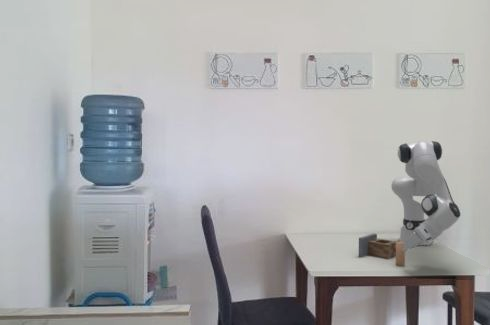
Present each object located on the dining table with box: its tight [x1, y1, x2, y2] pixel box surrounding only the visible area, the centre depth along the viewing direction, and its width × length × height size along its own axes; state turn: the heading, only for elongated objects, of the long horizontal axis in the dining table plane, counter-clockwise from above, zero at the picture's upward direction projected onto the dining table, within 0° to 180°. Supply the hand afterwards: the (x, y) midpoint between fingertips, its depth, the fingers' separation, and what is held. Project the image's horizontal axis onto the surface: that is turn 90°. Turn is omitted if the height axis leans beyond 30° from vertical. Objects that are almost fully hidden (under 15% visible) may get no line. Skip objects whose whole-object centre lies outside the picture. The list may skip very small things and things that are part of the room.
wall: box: [358, 233, 378, 258], centre depth 227 cm, size 16×2×10 cm, turn 137°
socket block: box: [367, 237, 398, 260], centre depth 226 cm, size 11×11×7 cm
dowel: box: [395, 241, 406, 267], centre depth 207 cm, size 4×4×11 cm
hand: (407, 248), depth 205 cm, fingers open, 8 cm apart
